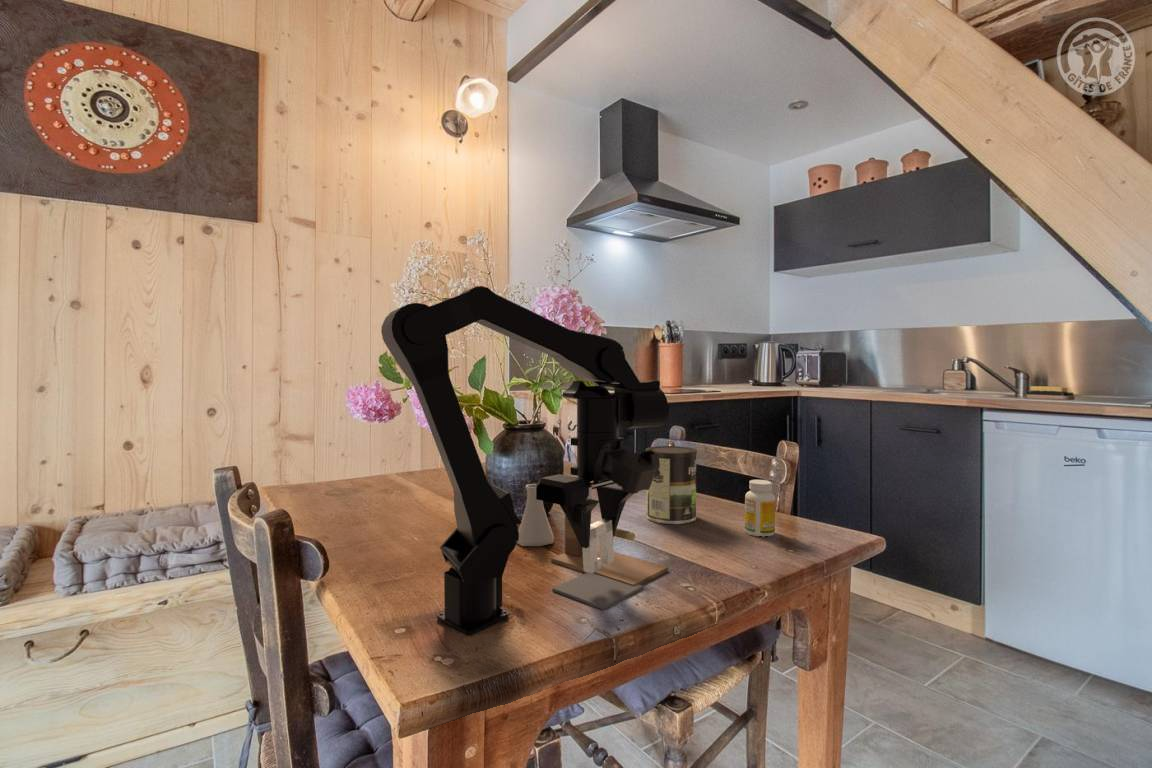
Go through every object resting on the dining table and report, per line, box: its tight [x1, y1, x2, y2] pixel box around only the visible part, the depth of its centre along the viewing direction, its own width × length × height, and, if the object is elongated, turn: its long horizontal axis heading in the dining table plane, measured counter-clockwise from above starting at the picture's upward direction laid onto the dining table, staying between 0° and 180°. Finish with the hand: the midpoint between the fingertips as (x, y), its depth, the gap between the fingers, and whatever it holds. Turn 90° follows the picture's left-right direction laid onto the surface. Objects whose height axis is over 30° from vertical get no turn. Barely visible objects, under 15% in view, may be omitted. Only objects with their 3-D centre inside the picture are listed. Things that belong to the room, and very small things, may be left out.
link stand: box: [550, 514, 669, 586], centre depth 86 cm, size 9×16×7 cm, turn 48°
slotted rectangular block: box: [582, 518, 615, 574], centre depth 77 cm, size 5×1×6 cm, turn 138°
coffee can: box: [645, 445, 698, 525], centre depth 113 cm, size 10×10×14 cm
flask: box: [516, 483, 555, 547], centre depth 98 cm, size 7×7×10 cm
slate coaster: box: [551, 573, 644, 611], centre depth 77 cm, size 9×9×1 cm
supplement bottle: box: [744, 479, 777, 538], centre depth 103 cm, size 5×5×10 cm
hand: (597, 542), depth 77 cm, fingers closed on slotted rectangular block, 5 cm apart
